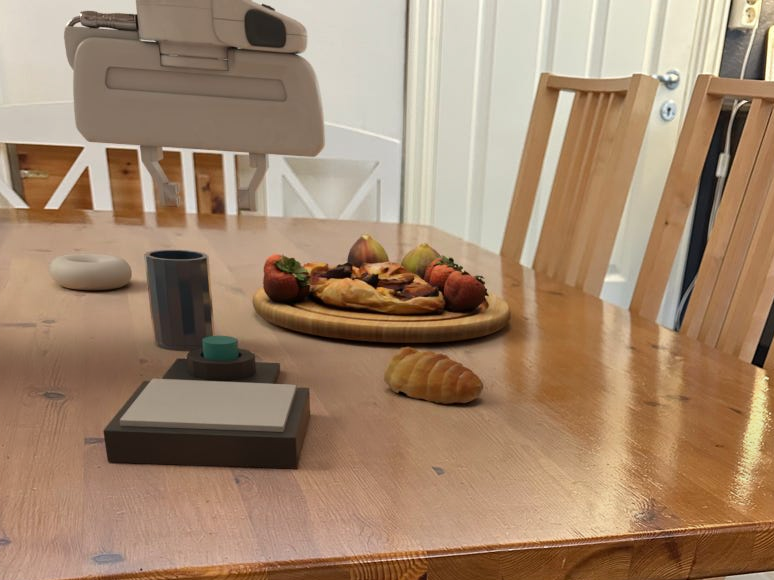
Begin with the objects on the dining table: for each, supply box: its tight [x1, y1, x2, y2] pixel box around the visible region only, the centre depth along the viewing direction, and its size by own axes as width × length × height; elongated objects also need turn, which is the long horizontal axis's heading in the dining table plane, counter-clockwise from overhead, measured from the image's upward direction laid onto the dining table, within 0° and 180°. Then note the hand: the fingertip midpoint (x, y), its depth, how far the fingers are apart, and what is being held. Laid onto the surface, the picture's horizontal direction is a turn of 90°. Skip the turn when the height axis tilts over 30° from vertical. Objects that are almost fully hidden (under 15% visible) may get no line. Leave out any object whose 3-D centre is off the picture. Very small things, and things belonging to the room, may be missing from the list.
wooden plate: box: [252, 234, 512, 344], centre depth 115 cm, size 32×32×8 cm
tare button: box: [202, 335, 239, 360], centre depth 88 cm, size 3×3×2 cm
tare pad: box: [161, 347, 281, 384], centre depth 88 cm, size 10×8×2 cm
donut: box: [49, 253, 133, 291], centre depth 121 cm, size 10×4×10 cm
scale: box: [102, 378, 311, 469], centre depth 75 cm, size 14×13×3 cm
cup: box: [143, 249, 216, 352], centre depth 97 cm, size 6×6×9 cm
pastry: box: [384, 346, 484, 405], centre depth 89 cm, size 9×7×4 cm
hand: (209, 208), depth 81 cm, fingers open, 5 cm apart
